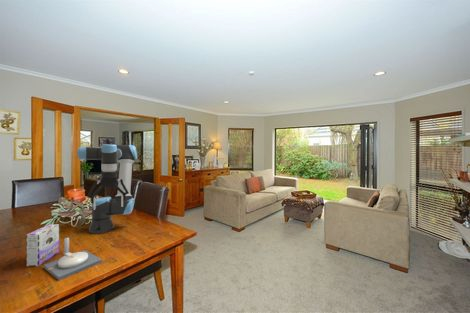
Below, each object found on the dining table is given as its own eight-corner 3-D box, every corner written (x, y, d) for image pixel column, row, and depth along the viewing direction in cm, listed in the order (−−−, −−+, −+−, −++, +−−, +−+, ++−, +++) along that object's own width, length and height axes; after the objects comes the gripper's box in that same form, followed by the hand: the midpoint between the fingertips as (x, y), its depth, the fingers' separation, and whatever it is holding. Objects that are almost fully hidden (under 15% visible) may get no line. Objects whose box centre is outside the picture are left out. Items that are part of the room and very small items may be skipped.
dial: (51, 261, 104) (51, 242, 103) (78, 251, 114) (79, 234, 114) (64, 271, 96) (64, 250, 96) (92, 259, 106) (92, 240, 106)
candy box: (48, 252, 115) (48, 223, 115) (59, 252, 116) (59, 223, 115) (25, 266, 102) (25, 233, 101) (38, 266, 102) (38, 233, 102)
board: (41, 267, 101) (41, 264, 101) (84, 252, 117) (84, 249, 117) (57, 281, 91) (57, 277, 91) (101, 262, 107) (101, 258, 107)
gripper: (81, 172, 108) (81, 212, 108) (133, 171, 121) (133, 206, 122) (82, 171, 114) (82, 208, 115) (132, 169, 127) (132, 203, 128)
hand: (108, 207), depth 118 cm, fingers open, 13 cm apart
